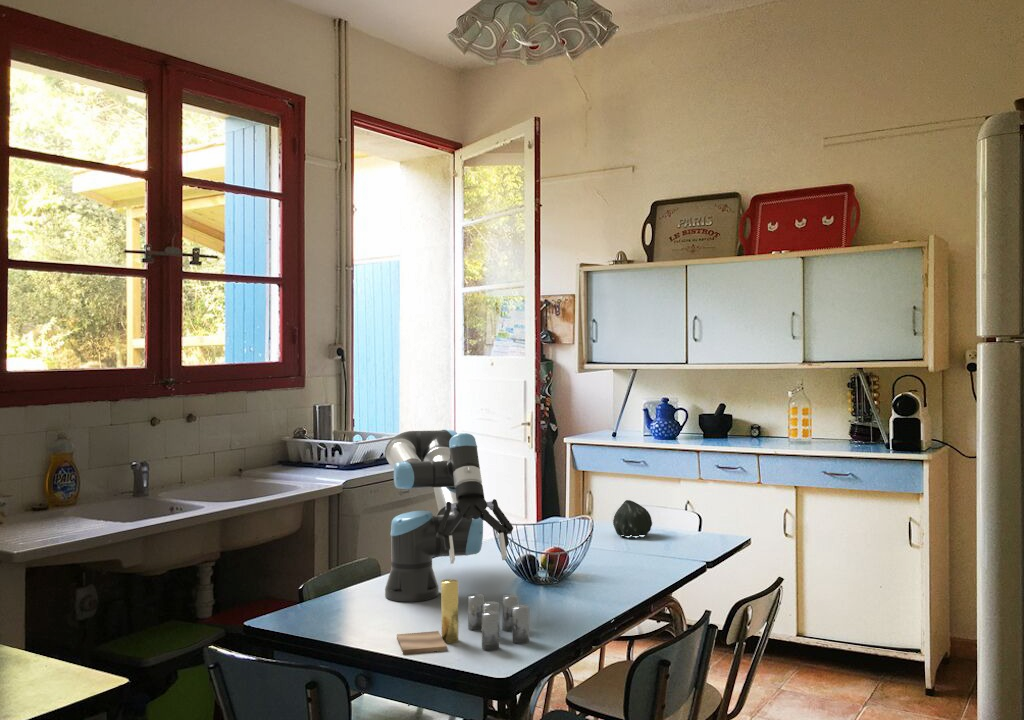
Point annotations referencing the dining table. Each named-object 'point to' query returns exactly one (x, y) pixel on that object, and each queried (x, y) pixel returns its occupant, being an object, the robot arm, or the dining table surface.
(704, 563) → the dining table surface
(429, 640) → the board
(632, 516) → the squash
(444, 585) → the cylinder
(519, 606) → the spacers
